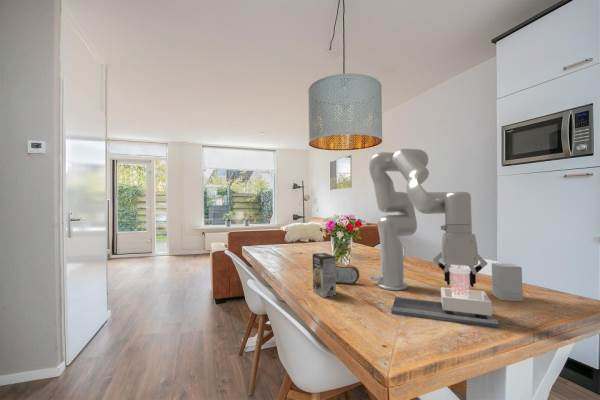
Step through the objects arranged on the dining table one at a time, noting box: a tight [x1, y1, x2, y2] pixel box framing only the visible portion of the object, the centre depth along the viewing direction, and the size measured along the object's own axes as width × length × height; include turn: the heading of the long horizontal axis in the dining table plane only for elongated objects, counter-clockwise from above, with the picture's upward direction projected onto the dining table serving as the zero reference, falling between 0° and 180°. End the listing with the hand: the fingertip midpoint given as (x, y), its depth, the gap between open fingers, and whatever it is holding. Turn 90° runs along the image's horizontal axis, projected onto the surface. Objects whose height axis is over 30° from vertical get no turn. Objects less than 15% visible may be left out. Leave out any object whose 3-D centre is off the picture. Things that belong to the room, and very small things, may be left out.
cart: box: [440, 286, 493, 319], centre depth 91 cm, size 13×11×6 cm
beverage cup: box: [449, 265, 471, 299], centre depth 92 cm, size 6×6×14 cm
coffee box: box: [312, 252, 337, 298], centre depth 117 cm, size 9×6×16 cm
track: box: [390, 296, 499, 329], centre depth 94 cm, size 30×12×2 cm, turn 66°
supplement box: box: [491, 262, 524, 302], centre depth 108 cm, size 7×7×13 cm
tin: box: [336, 263, 360, 285], centre depth 132 cm, size 15×3×8 cm, turn 71°
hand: (459, 284), depth 92 cm, fingers closed on beverage cup, 6 cm apart
